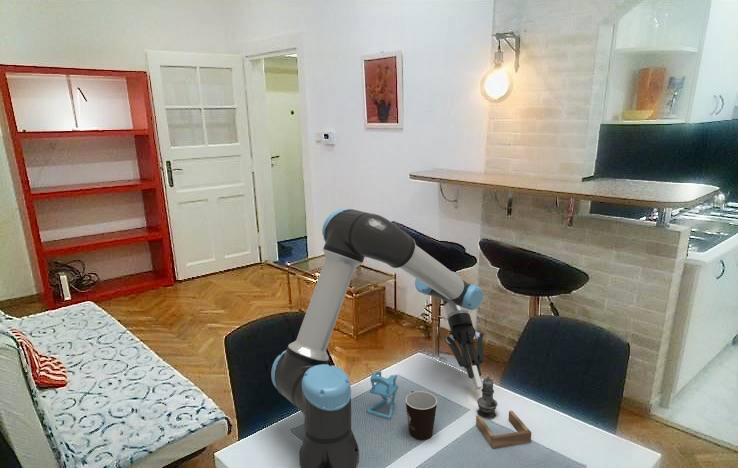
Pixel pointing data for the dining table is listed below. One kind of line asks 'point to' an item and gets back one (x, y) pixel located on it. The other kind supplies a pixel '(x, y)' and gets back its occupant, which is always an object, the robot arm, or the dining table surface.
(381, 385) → the chair
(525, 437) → the pocket
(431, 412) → the coffee mug
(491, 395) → the chess piece
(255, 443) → the dining table surface
